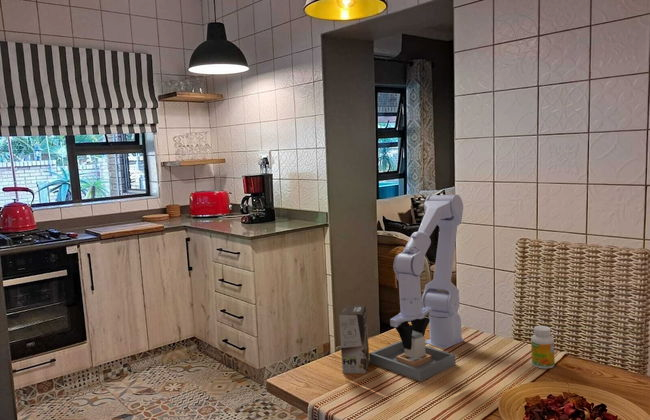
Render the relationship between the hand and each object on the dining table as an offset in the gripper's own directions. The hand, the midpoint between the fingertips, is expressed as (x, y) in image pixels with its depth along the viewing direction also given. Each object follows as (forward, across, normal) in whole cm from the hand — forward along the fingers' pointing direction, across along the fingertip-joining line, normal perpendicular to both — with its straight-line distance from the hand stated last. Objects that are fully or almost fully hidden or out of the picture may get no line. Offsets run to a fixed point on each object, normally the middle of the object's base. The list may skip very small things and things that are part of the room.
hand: (413, 346), depth 138 cm
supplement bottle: (+5, +20, -26) cm, 33 cm away
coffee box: (+5, -13, +9) cm, 16 cm away
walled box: (+4, -2, -1) cm, 5 cm away
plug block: (+2, 0, 0) cm, 2 cm away
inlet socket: (+4, 0, 0) cm, 4 cm away
